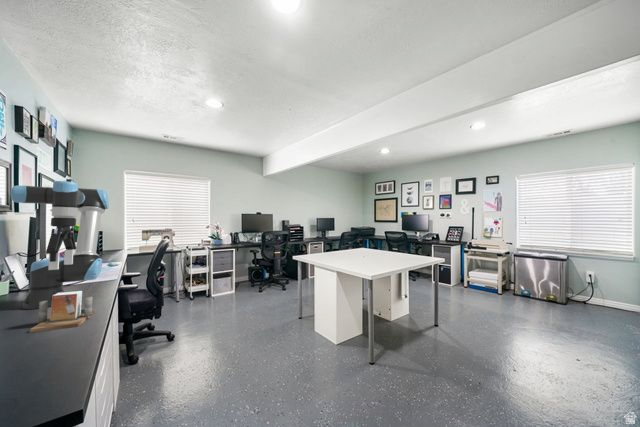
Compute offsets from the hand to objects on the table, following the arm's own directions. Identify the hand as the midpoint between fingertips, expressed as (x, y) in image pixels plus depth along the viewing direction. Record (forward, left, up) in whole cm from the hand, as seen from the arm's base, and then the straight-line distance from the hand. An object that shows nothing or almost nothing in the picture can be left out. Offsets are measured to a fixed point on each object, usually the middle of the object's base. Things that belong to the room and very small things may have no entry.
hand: (61, 266), depth 107 cm
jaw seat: (+1, +3, -23) cm, 23 cm away
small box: (+1, +3, -22) cm, 22 cm away
